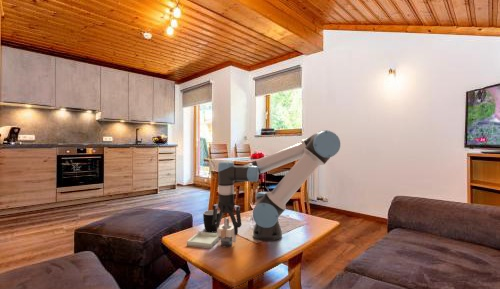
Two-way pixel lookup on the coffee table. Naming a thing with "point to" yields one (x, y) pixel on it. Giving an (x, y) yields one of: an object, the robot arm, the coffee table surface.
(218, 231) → the white hollow block
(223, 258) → the coffee table surface
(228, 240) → the peg stand
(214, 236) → the tray
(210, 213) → the mug
